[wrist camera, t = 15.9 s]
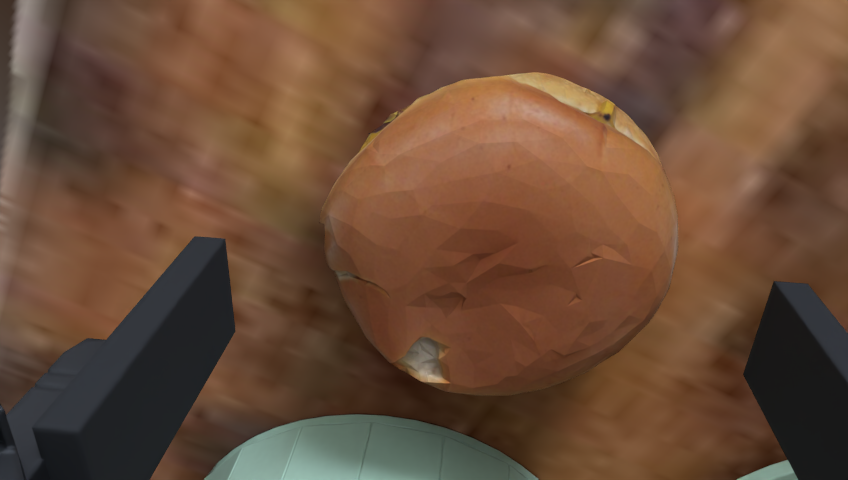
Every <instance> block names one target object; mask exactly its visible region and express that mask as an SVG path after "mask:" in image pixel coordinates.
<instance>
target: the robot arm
mask: <svg viewBox="0 0 848 480" xmlns="http://www.w3.org/2000/svg"><path fill="white" fill-rule="evenodd" d="M234 333H235V323H234V314H233V305H232V296H231V287H230V278H229V269H228V260H227V251H226V242H225V239H221V238H208V237H194V238H193V239H192V240H191V241H190V243H189V244H188V245H187V246H186V247H185V248H184V250H183V251H182V252H181V253H180V254H179V255H178V257H177V258H176V259H175V260H174V261H173V262H172V264H171V265H170V266H169V267H168V268H167V269H166V271H165V272H164V273H163V274H162V275H161V276H160V278H159V279H158V280H157V281H156V282H155V283H154V285H153V286H152V287H151V288H150V289H149V291H148V292H147V293H146V294H145V295H144V296H143V298H142V299H141V300H140V301H139V302H138V303H137V305H136V306H135V307H134V308H133V309H132V310H131V312H130V313H129V314H128V315H127V316H126V317H125V319H124V320H123V321H122V322H121V323H120V324H119V326H118V327H117V328H116V329H115V330H114V331H113V333H112V334H111V335H110V336H109V337H108V338H107V340H100V339H89V338H87V339H86V340H84V341H82V342H81V343H79V344H77V345H76V346H74V347H72V348H71V349H69V350H67V351H66V352H64V353H63V354H62V355H61V356H60V357H59V359H58V360H57V361H56V362H55V363H54V364H53V365H52V366H51V367H50V368H49V369H48V373H45V374H44V375H43V376H42V377H41V378H40V379H39V380H38V381H37V382H36V383H35V387H32V388H31V389H30V390H29V391H28V392H27V393H26V394H25V395H24V396H23V398H22V399H21V400H20V401H19V402H18V403H17V404H16V405H15V406H14V407H13V408H12V409H11V411H10V412H9V413H8V414H7V415H6V414H5V411H4V409H3V407H2V406H1V405H0V480H149V479H150V478H151V476H152V474H153V473H154V471H155V469H156V467H157V466H158V464H159V462H160V460H161V459H162V457H163V455H164V454H165V452H166V450H167V448H168V447H169V445H170V443H171V441H172V440H173V438H174V436H175V435H176V433H177V431H178V429H179V428H180V426H181V424H182V422H183V421H184V419H185V417H186V416H187V414H188V412H189V410H190V409H191V407H192V405H193V403H194V402H195V400H196V398H197V397H198V395H199V393H200V391H201V390H202V388H203V386H204V384H205V383H206V381H207V379H208V378H209V376H210V374H211V372H212V371H213V369H214V367H215V365H216V364H217V362H218V360H219V359H220V357H221V355H222V353H223V352H224V350H225V348H226V346H227V345H228V343H229V341H230V340H231V338H232V336H233V334H234ZM743 375H744V377H745V379H746V381H747V383H748V385H749V387H750V389H751V390H752V392H753V394H754V396H755V398H756V400H757V402H758V404H759V406H760V408H761V410H762V411H763V413H764V415H765V417H766V419H767V421H768V423H769V425H770V427H771V429H772V431H773V433H774V434H775V436H776V438H777V440H778V442H779V444H780V446H781V448H782V450H783V452H784V454H785V455H786V457H787V459H788V461H789V463H790V465H791V467H792V469H793V471H794V473H795V475H796V476H797V478H798V480H848V333H847V332H846V331H845V329H844V328H843V327H842V326H841V325H840V323H839V322H838V321H837V320H836V318H835V317H834V316H833V315H832V313H831V312H830V311H829V310H828V308H827V307H826V306H825V305H824V303H823V302H822V301H821V300H820V299H819V297H818V296H817V295H816V294H815V292H814V291H813V290H812V289H811V287H810V286H809V285H808V284H803V283H790V282H777V281H774V283H773V286H772V289H771V292H770V295H769V298H768V301H767V304H766V307H765V310H764V313H763V316H762V319H761V322H760V325H759V328H758V331H757V334H756V337H755V340H754V343H753V346H752V349H751V352H750V355H749V358H748V361H747V364H746V368H745V371H744V374H743Z"/></svg>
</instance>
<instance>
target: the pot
mask: <svg viewBox="0 0 848 480" xmlns="http://www.w3.org/2000/svg"><path fill="white" fill-rule="evenodd" d="M204 480H539V479H538V478H536V477H535V476H534V475H533V474H532V473H530V472H529V471H528V470H527V469H525V468H524V467H523V466H522V465H521V464H519V463H517V462H516V461H514V460H513V459H511V458H509V457H508V456H506V455H505V454H503V453H502V452H500V451H498V450H497V449H495V448H492V447H490V446H488V445H486V444H484V443H482V442H480V441H478V440H476V439H474V438H472V437H469V436H466V435H464V434H461V433H458V432H456V431H453V430H450V429H447V428H445V427H441V426H437V425H433V424H429V423H425V422H421V421H417V420H411V419H405V418H398V417H392V416H383V415H363V414H351V415H332V416H323V417H317V418H311V419H305V420H300V421H296V422H293V423H289V424H286V425H282V426H279V427H275V428H273V429H271V430H268V431H266V432H264V433H261V434H259V435H257V436H255V437H253V438H251V439H249V440H248V441H246V442H244V443H243V444H241V445H240V446H238V447H236V448H235V449H233V450H232V451H231V452H230V453H229V454H227V455H226V456H225V457H224V458H223V459H222V460H220V461H219V462H218V463H217V464H216V466H215V467H214V468H213V469H212V470H211V472H210V473H209V474H208V475H207V476H206V478H205V479H204Z"/></svg>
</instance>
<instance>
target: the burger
mask: <svg viewBox="0 0 848 480" xmlns="http://www.w3.org/2000/svg"><path fill="white" fill-rule="evenodd" d="M369 134H370V135H369V136H368V138H367V140H366V141H365V143H364V144H363V146H362V148H361V150H360V151H359V153H358V154H357V155H356V156H355V157H354V158H353V159H352V160H351V161H350V162H349V164H348V165H347V167H346V168H345V169H344V171H343V172H342V174H341V175H340V176H339V178H338V179H337V181H336V182H335V184H334V186H333V188H332V190H331V192H330V194H329V196H328V198H327V200H326V202H325V204H324V206H323V208H322V210H321V215H320V220H319V223H323V224H325V246H324V255H325V258H326V261H327V265H328V267H330V268H331V269H332V270H333V271H335V277H336V280H337V283H338V285H339V288H340V290H341V293H342V295H343V298H344V300H345V302H346V304H347V305H348V307H349V309H350V310H351V312H352V314H353V316H354V317H355V319H356V321H357V323H358V324H359V326H360V328H361V329H362V331H363V333H364V335H365V336H366V338H367V340H368V341H369V342H370V343H371V344H372V345H373V346H374V347H375V348H376V349H377V350H378V351H379V352H380V353H381V354H382V355H383V356H384V357H385V358H386V359H387V360H388V362H389V363H391V364H392V365H394V366H395V367H397V368H398V369H400V370H402V371H404V372H406V373H408V374H410V375H411V376H413V377H415V378H416V379H418V380H419V381H421V382H423V383H426V384H428V385H430V386H433V387H435V388H437V389H440V390H443V391H446V392H454V393H461V394H468V395H476V396H481V395H514V394H519V393H525V392H530V391H536V390H540V389H544V388H547V387H550V386H554V385H557V384H560V383H562V382H565V381H567V380H569V379H572V378H574V377H577V376H579V375H581V374H584V373H586V372H588V371H589V370H591V369H592V368H594V367H595V366H597V365H598V364H599V363H601V362H602V361H604V360H606V359H607V358H609V357H611V356H612V355H614V354H616V353H618V352H619V351H620V350H621V349H622V348H623V347H624V346H625V345H626V344H627V343H628V342H630V341H631V340H632V339H633V338H634V337H635V336H636V335H637V334H638V333H639V332H640V331H641V330H642V329H643V328H644V327H645V326H646V325H647V324H648V323H649V322H650V320H651V319H652V317H653V316H654V314H655V312H656V311H657V309H658V308H659V306H660V304H661V302H662V300H663V299H664V297H665V295H666V293H667V291H668V289H669V286H670V282H671V277H672V273H673V269H674V264H675V260H676V255H677V251H678V214H677V209H676V204H675V199H674V195H673V192H672V190H671V187H670V184H669V182H668V179H667V177H666V174H665V171H664V169H663V167H662V165H661V162H660V159H659V157H658V154H657V153H656V151H655V149H654V148H653V146H652V144H651V143H650V141H649V139H648V137H647V136H646V135H645V134H644V133H643V131H642V130H641V129H640V128H638V127H637V125H636V124H635V123H634V122H633V120H632V119H631V118H630V117H629V116H628V115H627V114H626V113H624V112H623V111H622V110H620V109H619V108H618V107H617V106H616V105H615V104H614V103H612V102H611V101H609V100H608V99H606V98H604V97H603V96H601V95H599V94H597V93H595V92H593V91H591V90H589V89H586V88H584V87H581V86H579V85H576V84H574V83H572V82H570V81H568V80H565V79H563V78H560V77H557V76H554V75H550V74H545V73H538V72H535V73H523V74H514V75H506V76H495V77H486V78H477V79H468V80H462V81H459V82H457V83H454V84H451V85H448V86H445V87H441V88H440V89H438V90H436V91H435V92H433V93H431V94H428V95H426V96H423V97H420V98H418V99H417V100H416V101H415V102H414V103H413V104H412V105H410V106H408V107H406V108H403V109H401V110H398V111H397V112H396V113H394V114H391V115H390V116H389V117H388V118H387V119H386V121H385V122H384V124H383V125H381V126H380V127H379V128H377V129H376V130H375V131H373V132H372V133H369Z"/></svg>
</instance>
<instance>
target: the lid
mask: <svg viewBox="0 0 848 480" xmlns="http://www.w3.org/2000/svg"><path fill="white" fill-rule="evenodd" d="M736 480H798V478H797V476H796V475H795V473H794V471H793V469H792V467H791V465H790V463H789V461H788V460H785V461H782V462H779V463H775V464H772V465H769V466H767V467H764V468H762V469H760V470H757V471H755V472H752V473H750V474H748V475H745V476H743V477H740V478H738V479H736Z"/></svg>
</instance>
